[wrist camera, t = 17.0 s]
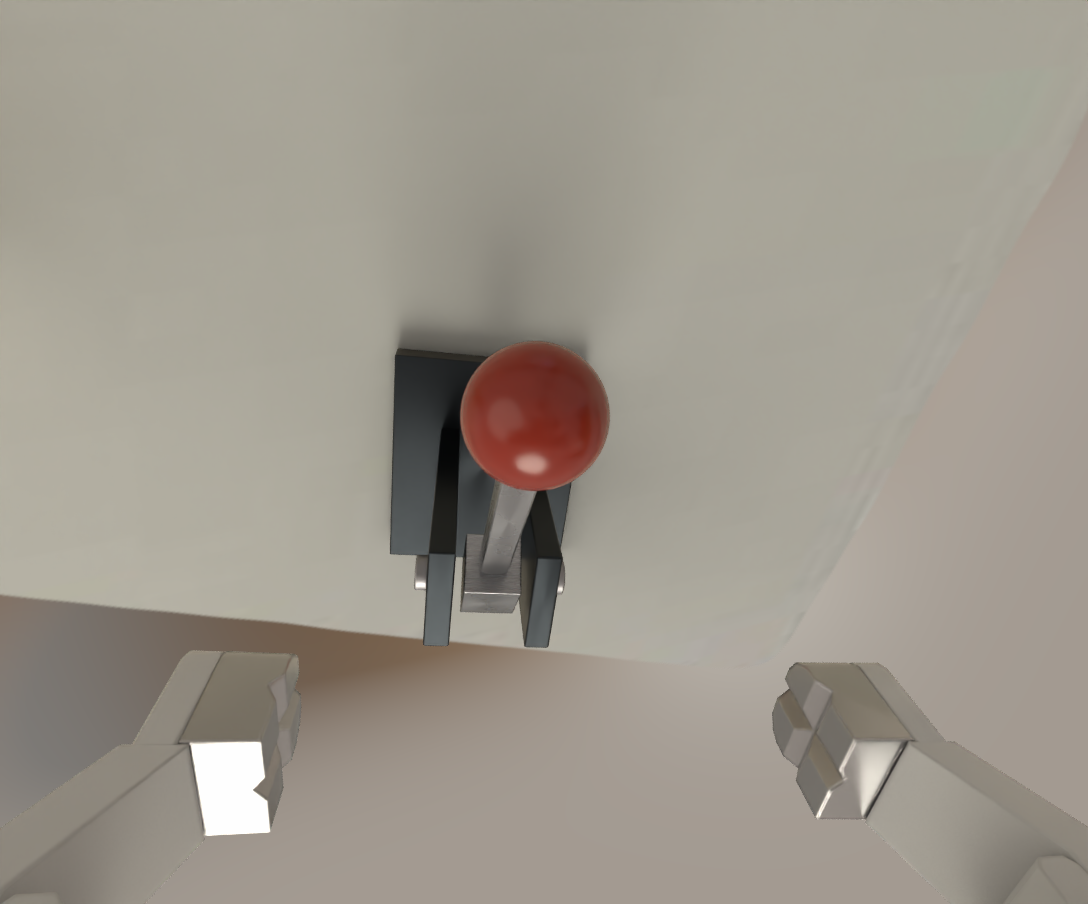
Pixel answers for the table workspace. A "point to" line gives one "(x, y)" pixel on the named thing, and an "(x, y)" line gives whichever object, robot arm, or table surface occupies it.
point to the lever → (524, 453)
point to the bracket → (459, 497)
